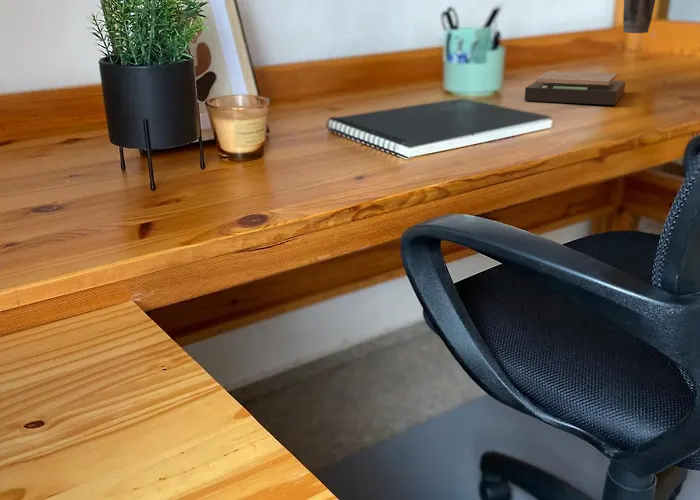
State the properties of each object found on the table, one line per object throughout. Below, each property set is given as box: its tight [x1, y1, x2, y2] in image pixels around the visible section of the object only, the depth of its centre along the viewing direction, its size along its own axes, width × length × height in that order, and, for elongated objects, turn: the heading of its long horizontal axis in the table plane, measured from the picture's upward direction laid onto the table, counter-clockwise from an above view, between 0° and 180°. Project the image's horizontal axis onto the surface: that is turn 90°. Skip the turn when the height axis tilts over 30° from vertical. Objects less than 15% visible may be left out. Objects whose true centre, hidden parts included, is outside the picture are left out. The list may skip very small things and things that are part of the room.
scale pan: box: [535, 70, 618, 85], centre depth 134 cm, size 13×11×1 cm
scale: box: [524, 80, 626, 106], centre depth 135 cm, size 16×14×3 cm
